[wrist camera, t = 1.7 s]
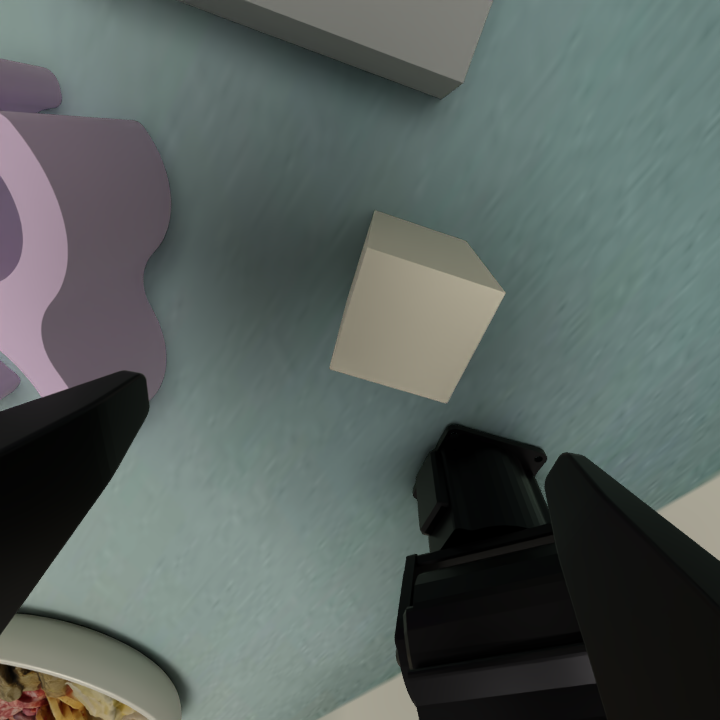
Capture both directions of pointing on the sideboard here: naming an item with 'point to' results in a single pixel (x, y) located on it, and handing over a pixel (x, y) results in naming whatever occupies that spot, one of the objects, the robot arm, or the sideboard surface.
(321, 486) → the sideboard surface
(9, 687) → the bowl
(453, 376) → the block
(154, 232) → the clip
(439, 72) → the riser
